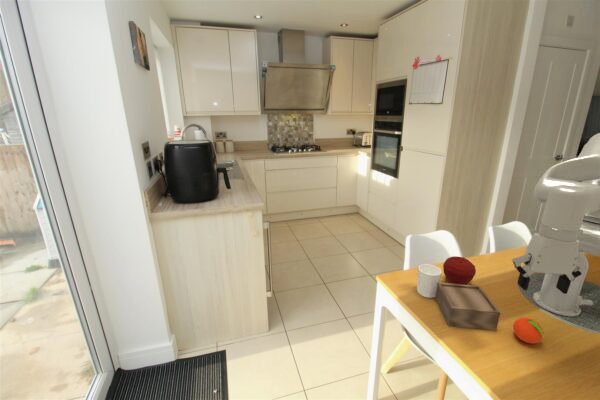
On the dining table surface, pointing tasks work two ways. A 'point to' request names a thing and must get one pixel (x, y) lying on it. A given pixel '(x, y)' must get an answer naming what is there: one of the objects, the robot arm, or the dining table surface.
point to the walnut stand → (467, 306)
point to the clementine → (528, 330)
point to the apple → (458, 270)
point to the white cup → (428, 280)
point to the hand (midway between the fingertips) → (541, 289)
